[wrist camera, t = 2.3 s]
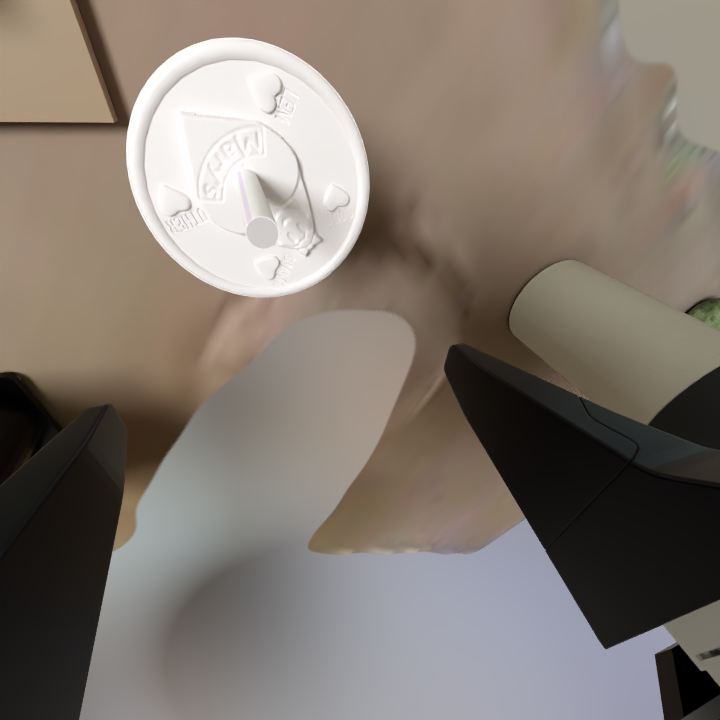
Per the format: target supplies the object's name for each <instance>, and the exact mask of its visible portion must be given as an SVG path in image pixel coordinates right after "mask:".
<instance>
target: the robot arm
mask: <svg viewBox="0 0 720 720" xmlns="http://www.w3.org/2000/svg"><path fill="white" fill-rule="evenodd" d="M444 371H445V374H446V376H447V379H448V381H449V383H450V385H451V387H452V389H453V392H454V394H455V396H456V398H457V400H458V402H459V405H460V407H461V409H462V411H463V413H464V415H465V417H466V418H467V420H468V422H469V423H470V425H471V427H472V428H473V430H474V432H475V433H476V435H477V437H478V439H479V440H480V442H481V444H482V445H483V447H484V449H485V450H486V452H487V454H488V455H489V457H490V459H491V460H492V462H493V464H494V465H495V467H496V469H497V470H498V472H499V474H500V475H501V477H502V479H503V480H504V482H505V484H506V485H507V487H508V489H509V490H510V492H511V494H512V495H513V497H514V499H515V500H516V502H517V504H518V505H519V507H520V509H521V510H522V512H523V514H524V516H525V517H526V519H527V521H528V522H529V524H530V526H531V527H532V529H533V531H534V532H535V534H536V536H537V537H538V539H539V541H540V542H541V544H542V546H543V547H544V549H546V553H547V554H548V556H549V558H550V559H551V561H552V563H553V564H554V566H555V568H556V569H557V571H558V573H559V574H560V576H561V578H562V579H563V581H564V583H565V584H566V586H567V588H568V589H569V591H570V593H571V594H572V596H573V598H574V600H575V601H576V603H577V605H578V606H579V608H580V610H581V611H582V613H583V615H584V616H585V618H586V619H587V621H588V623H589V624H590V626H591V628H592V630H593V631H594V633H595V635H596V636H597V638H598V640H599V641H600V642H601V644H602V645H603V647H604V648H605V649H608V648H610V647H613V646H615V645H617V644H620V643H622V642H624V641H626V640H629V639H631V638H633V637H636V636H638V635H640V634H643V633H645V632H647V631H649V630H652V629H654V628H656V627H659V626H661V625H663V626H664V627H665V628H666V629H667V630H668V632H669V633H670V634H671V635H672V637H673V638H674V639H675V640H676V643H675V644H673V645H671V646H669V647H667V648H666V649H664V650H662V651H660V652H658V653H656V654H655V659H656V666H657V672H658V679H659V686H660V693H661V700H662V707H663V714H664V720H720V450H716V449H711V448H707V447H703V446H700V445H697V444H694V443H691V442H689V441H686V440H684V439H681V438H679V437H676V436H673V435H671V434H668V433H666V432H663V431H661V430H658V429H656V428H653V427H651V426H648V425H646V424H643V423H640V422H638V421H635V420H633V419H631V418H628V417H626V416H623V415H621V414H618V413H616V412H613V411H611V410H609V409H607V408H604V407H602V406H600V405H597V404H595V403H593V402H591V401H589V400H586V399H584V398H582V397H578V396H577V395H575V394H573V393H571V392H569V391H567V390H564V389H562V388H560V387H558V386H556V385H553V384H551V383H549V382H547V381H545V380H543V379H540V378H538V377H536V376H534V375H532V374H529V373H527V372H525V371H523V370H521V369H518V368H516V367H514V366H512V365H510V364H507V363H505V362H503V361H501V360H499V359H496V358H494V357H492V356H490V355H488V354H486V353H483V352H481V351H479V350H477V349H475V348H472V347H470V346H468V345H466V344H456V345H452V346H451V347H450V348H449V350H448V354H447V358H446V361H445V365H444ZM4 381H7V382H9V383H6V382H4ZM126 449H127V429H126V426H125V424H124V422H123V421H122V419H121V418H120V416H119V414H118V413H117V411H116V409H115V408H114V407H113V406H112V405H111V404H101V405H95V406H91V407H88V408H87V409H86V410H84V411H83V412H82V413H81V414H80V415H79V416H78V417H77V418H75V419H74V420H73V421H72V422H71V423H70V424H69V425H68V426H66V427H65V428H64V429H63V430H62V429H61V428H60V426H59V425H58V424H57V423H56V422H55V420H54V419H53V418H52V417H51V416H50V415H49V413H48V412H47V411H46V410H45V409H44V407H43V406H42V405H41V404H40V403H39V402H38V400H37V399H36V398H35V397H34V396H33V394H32V393H31V392H30V391H29V390H28V389H27V387H26V386H25V385H24V384H23V383H22V381H21V380H20V379H19V378H18V377H17V376H15V375H13V374H9V373H1V374H0V720H79V717H80V711H81V707H82V702H83V697H84V691H85V687H86V681H87V677H88V671H89V666H90V661H91V656H92V651H93V646H94V641H95V636H96V631H97V626H98V621H99V616H100V611H101V606H102V601H103V596H104V591H105V586H106V581H107V575H108V570H109V565H110V560H111V555H112V550H113V545H114V540H115V535H116V530H117V525H118V520H119V515H120V510H121V505H122V499H123V493H124V481H125V465H126Z"/></svg>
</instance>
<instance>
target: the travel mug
mask: <svg viewBox="0 0 720 720" xmlns="http://www.w3.org/2000/svg"><path fill="white" fill-rule="evenodd" d="M509 327H510V330H511V332H512V334H513V335H514V336H515V337H517V338H518V339H519V340H520V341H521V342H522V343H524V344H525V345H526V346H527V347H528V348H529V349H531V350H532V351H533V352H534V353H535V354H537V355H538V356H539V357H540V358H541V359H542V360H544V361H545V362H546V363H547V364H548V365H549V366H551V367H552V368H553V369H554V370H555V371H557V372H558V373H559V374H560V375H561V376H562V377H564V378H565V379H566V380H567V381H568V382H569V383H571V384H572V385H573V386H574V387H575V388H576V389H578V390H579V391H580V392H581V393H582V394H584V395H585V396H586V397H587V398H588V399H589V400H591V401H592V402H593V403H595V404H597V405H600V406H602V407H604V408H607V409H609V410H611V411H613V412H616V413H618V414H621V415H623V416H626V417H628V418H631V419H633V420H635V421H638V422H640V423H643V424H646V425H648V426H651V427H653V428H656V429H658V430H661V431H663V432H666V433H668V434H671V435H673V436H676V437H679V438H681V439H684V440H686V441H689V442H691V443H694V444H697V445H700V446H703V447H707V448H711V449H716V450H720V330H718V329H716V328H714V327H712V326H710V325H708V324H706V323H704V322H702V321H700V320H698V319H696V318H694V317H692V316H690V315H688V314H686V313H684V312H682V311H679V310H677V309H675V308H673V307H671V306H669V305H667V304H665V303H663V302H661V301H659V300H657V299H655V298H653V297H651V296H649V295H647V294H645V293H643V292H641V291H639V290H637V289H635V288H633V287H631V286H629V285H627V284H625V283H623V282H621V281H618V280H616V279H614V278H612V277H610V276H608V275H606V274H604V273H602V272H600V271H598V270H596V269H594V268H592V267H590V266H588V265H586V264H584V263H582V262H580V261H577V260H565V261H561V262H558V263H555V264H553V265H551V266H549V267H547V268H546V269H544V270H543V271H541V272H540V273H539V274H537V275H536V276H535V277H534V278H533V279H532V280H531V281H530V282H529V283H528V284H527V285H526V286H525V287H524V289H523V290H522V291H521V293H520V294H519V296H518V297H517V299H516V301H515V302H514V305H513V307H512V309H511V313H510V317H509Z"/></svg>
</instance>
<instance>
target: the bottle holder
mask: <svg viewBox="0 0 720 720" xmlns="http://www.w3.org/2000/svg"><path fill="white" fill-rule="evenodd" d="M117 121H118V119H117V116H116V113H115V110H114V107H113V105H112V102H111V99H110V96H109V93H108V90H107V88H106V85H105V82H104V79H103V76H102V73H101V71H100V68H99V65H98V62H97V59H96V56H95V54H94V51H93V48H92V45H91V42H90V39H89V37H88V34H87V31H86V28H85V25H84V22H83V20H82V17H81V14H80V11H79V8H78V5H77V3H76V0H0V122H99V123H114V122H117Z"/></svg>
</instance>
